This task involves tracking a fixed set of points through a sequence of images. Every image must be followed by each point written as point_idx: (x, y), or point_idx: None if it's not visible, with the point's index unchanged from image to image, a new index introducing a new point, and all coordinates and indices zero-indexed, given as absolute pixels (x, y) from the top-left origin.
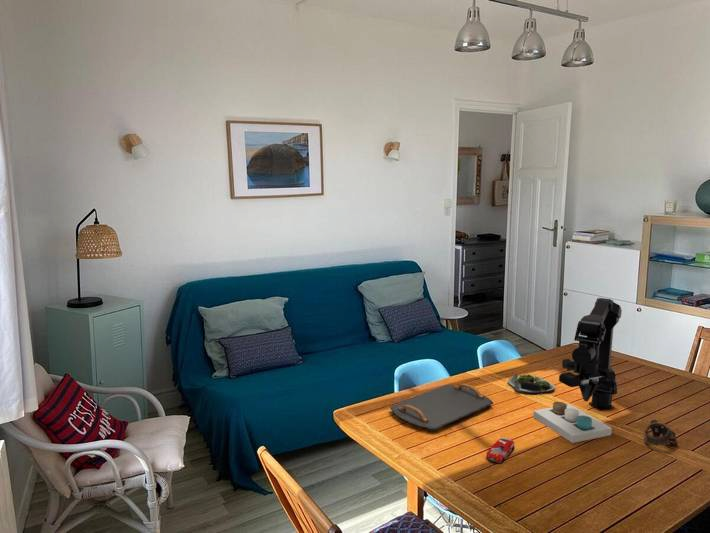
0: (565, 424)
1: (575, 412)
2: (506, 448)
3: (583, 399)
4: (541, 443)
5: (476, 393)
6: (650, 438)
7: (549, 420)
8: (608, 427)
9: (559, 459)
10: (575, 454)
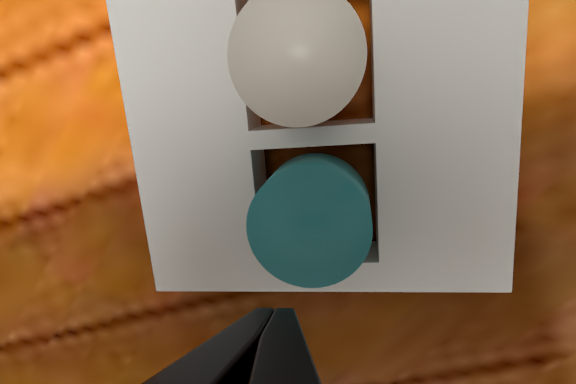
0: (201, 134)
1: (313, 93)
2: None
3: (248, 316)
4: (9, 217)
5: None
6: None
7: (116, 36)
8: (493, 277)
9: (31, 370)
10: (127, 363)
